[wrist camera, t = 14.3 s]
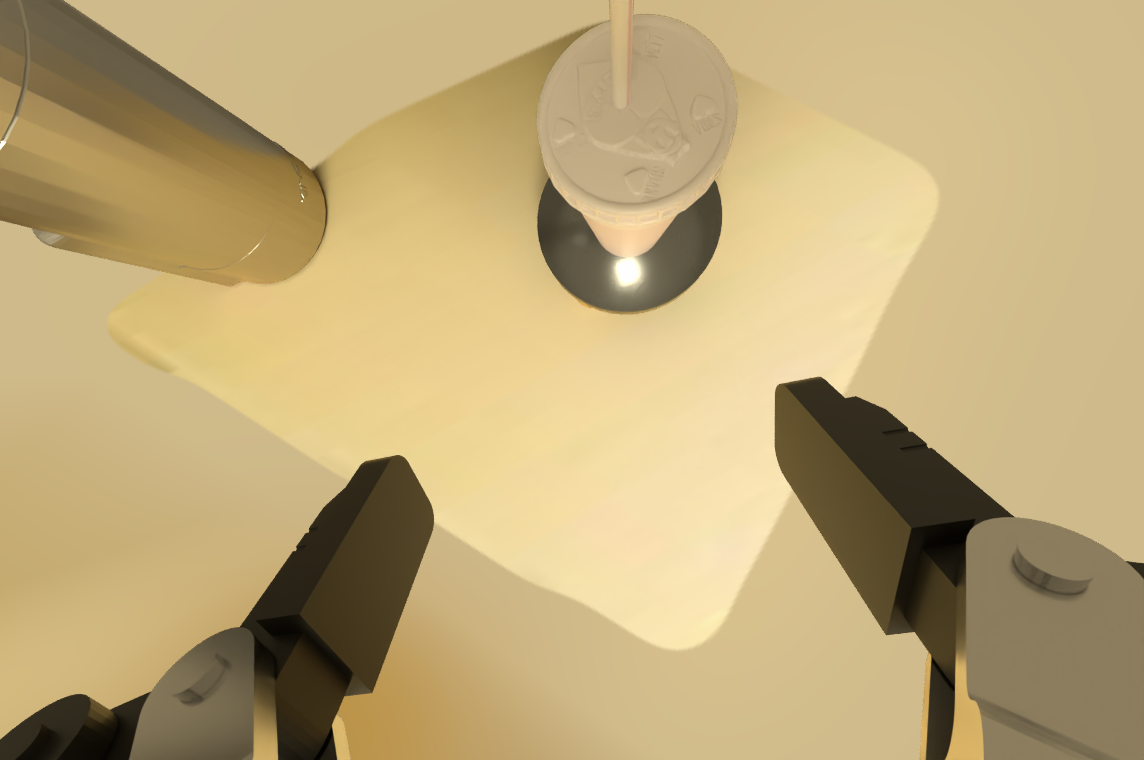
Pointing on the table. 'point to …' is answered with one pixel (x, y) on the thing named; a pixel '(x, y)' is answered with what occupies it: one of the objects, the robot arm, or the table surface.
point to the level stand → (627, 279)
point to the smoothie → (636, 124)
